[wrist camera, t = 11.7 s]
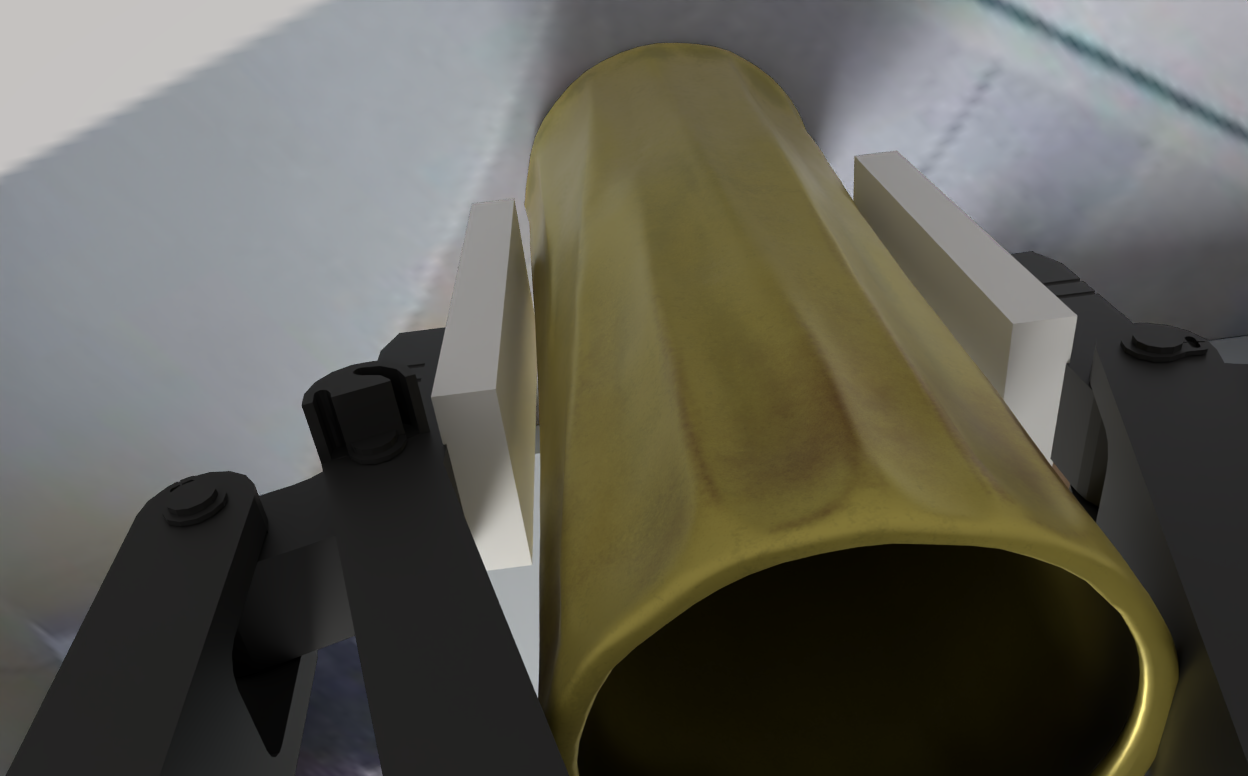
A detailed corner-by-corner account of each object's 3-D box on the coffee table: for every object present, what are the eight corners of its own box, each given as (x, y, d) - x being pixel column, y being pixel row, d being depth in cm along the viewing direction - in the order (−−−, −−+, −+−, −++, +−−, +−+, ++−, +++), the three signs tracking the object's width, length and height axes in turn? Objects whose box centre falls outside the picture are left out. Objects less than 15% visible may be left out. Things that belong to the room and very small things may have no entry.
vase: (491, 76, 18) (375, 563, 6) (797, 8, 18) (1316, 376, 6) (562, 341, 21) (579, 1015, 9) (823, 287, 21) (1195, 905, 9)
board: (512, 712, 28) (504, 880, 23) (443, 437, 23) (417, 586, 18) (1239, 619, 28) (1370, 769, 23) (1336, 324, 23) (1529, 445, 18)
